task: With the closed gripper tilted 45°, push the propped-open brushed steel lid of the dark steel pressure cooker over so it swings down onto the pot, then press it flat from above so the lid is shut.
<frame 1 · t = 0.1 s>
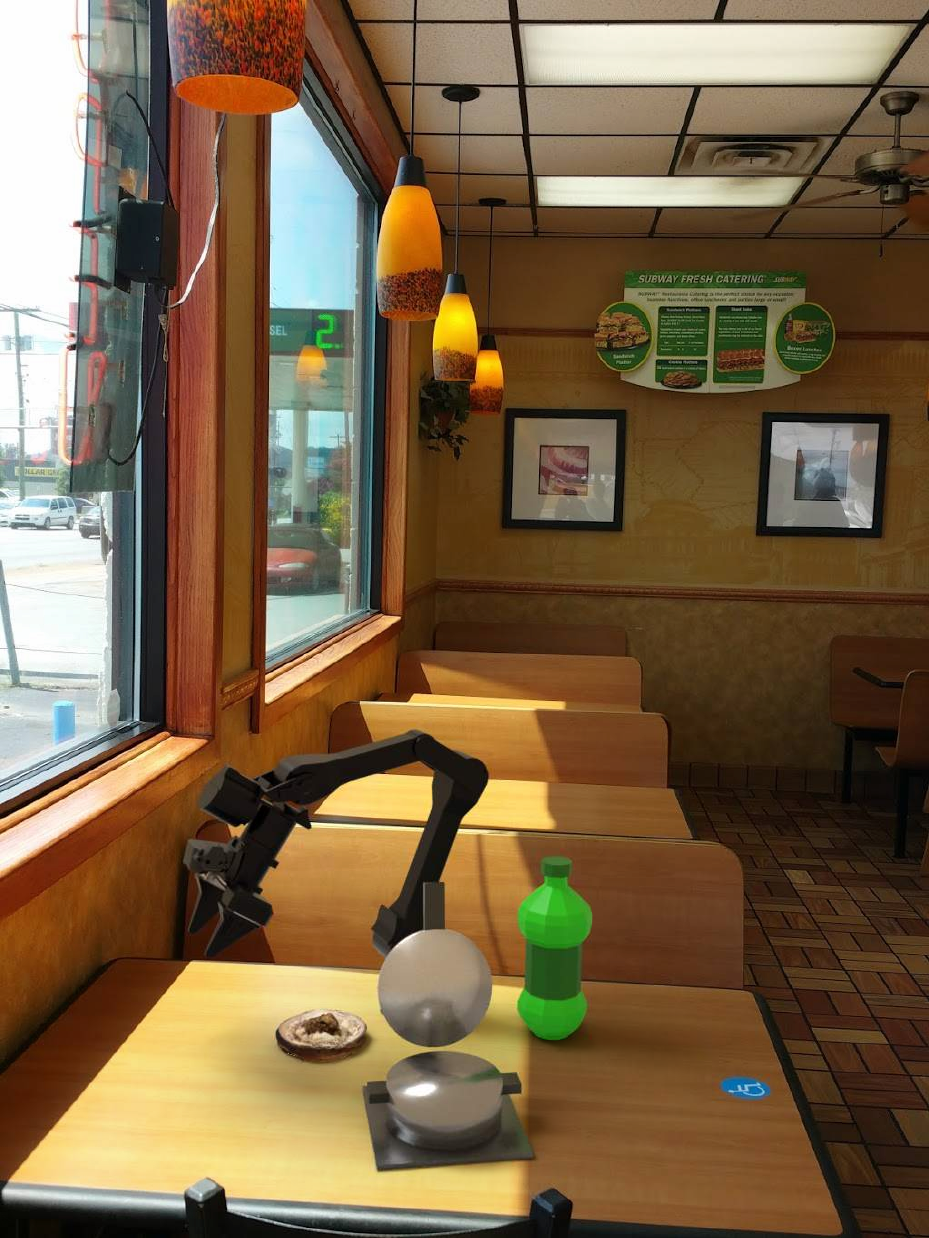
hand: (199, 944, 154), 15 cm above the table, tool tilted 35°, fingers open, 9 cm apart
cooker lid: (434, 963, 147), point 16 cm above the table, hinge at 100.0°
cooker pot: (443, 1122, 139), on the table
sushi roll: (321, 1045, 160), on the table
plastic bottle: (551, 1033, 164), on the table
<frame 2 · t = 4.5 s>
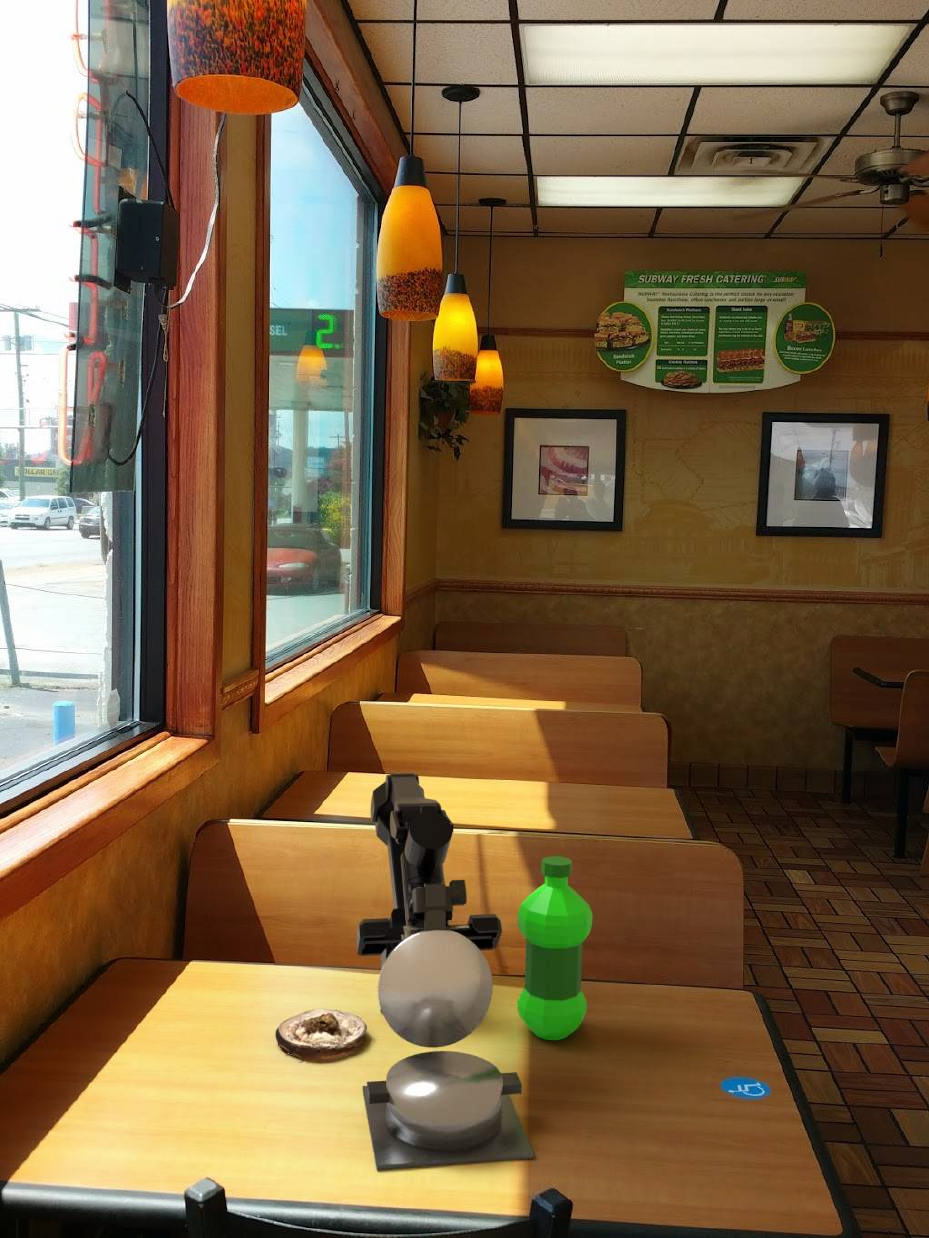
hand: (434, 997, 146), 12 cm above the table, tool tilted 45°, fingers closed, pressing on cooker lid
cooker lid: (434, 963, 147), point 16 cm above the table, hinge at 97.9°, touching gripper
everything else where it was.
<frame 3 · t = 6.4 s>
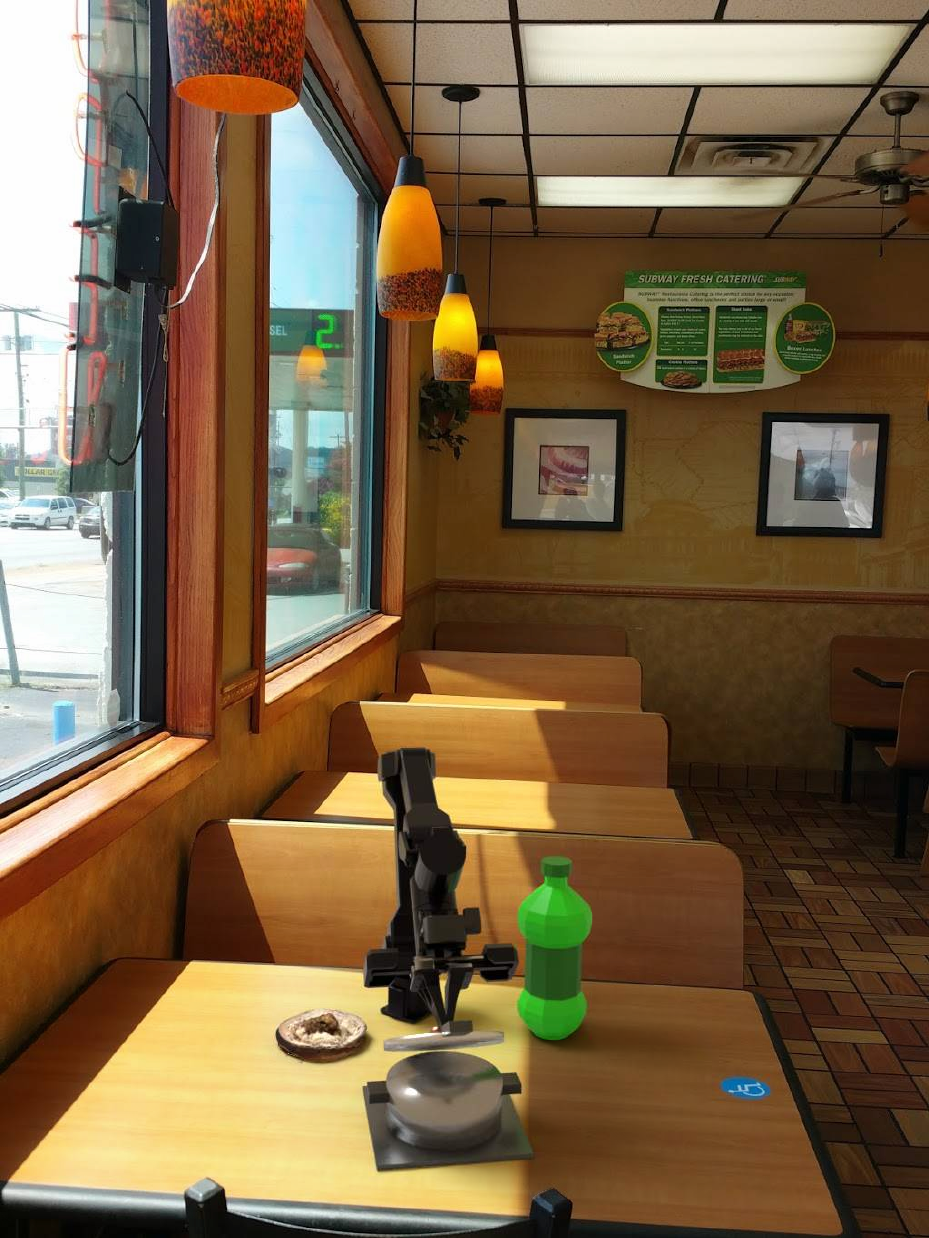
hand: (447, 1034, 137), 12 cm above the table, tool tilted 45°, fingers closed
cooker lid: (447, 1033, 137), point 12 cm above the table, hinge at 29.8°
everything else where it was.
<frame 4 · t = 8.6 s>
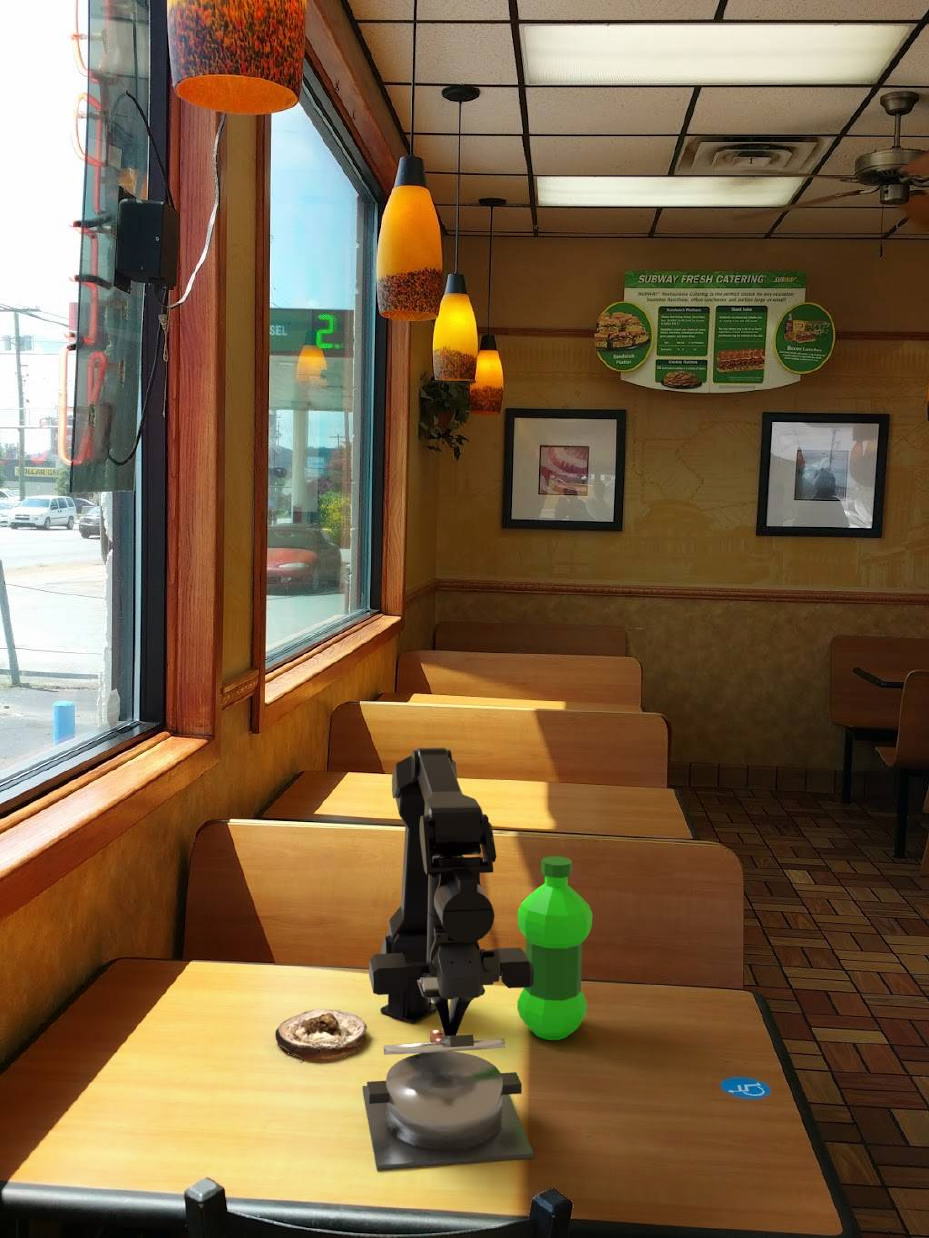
hand: (449, 1040, 135), 12 cm above the table, tool pointing down, fingers closed, pressing on cooker lid
cooker lid: (447, 1040, 136), point 11 cm above the table, hinge at 25.4°, touching gripper
everything else where it was.
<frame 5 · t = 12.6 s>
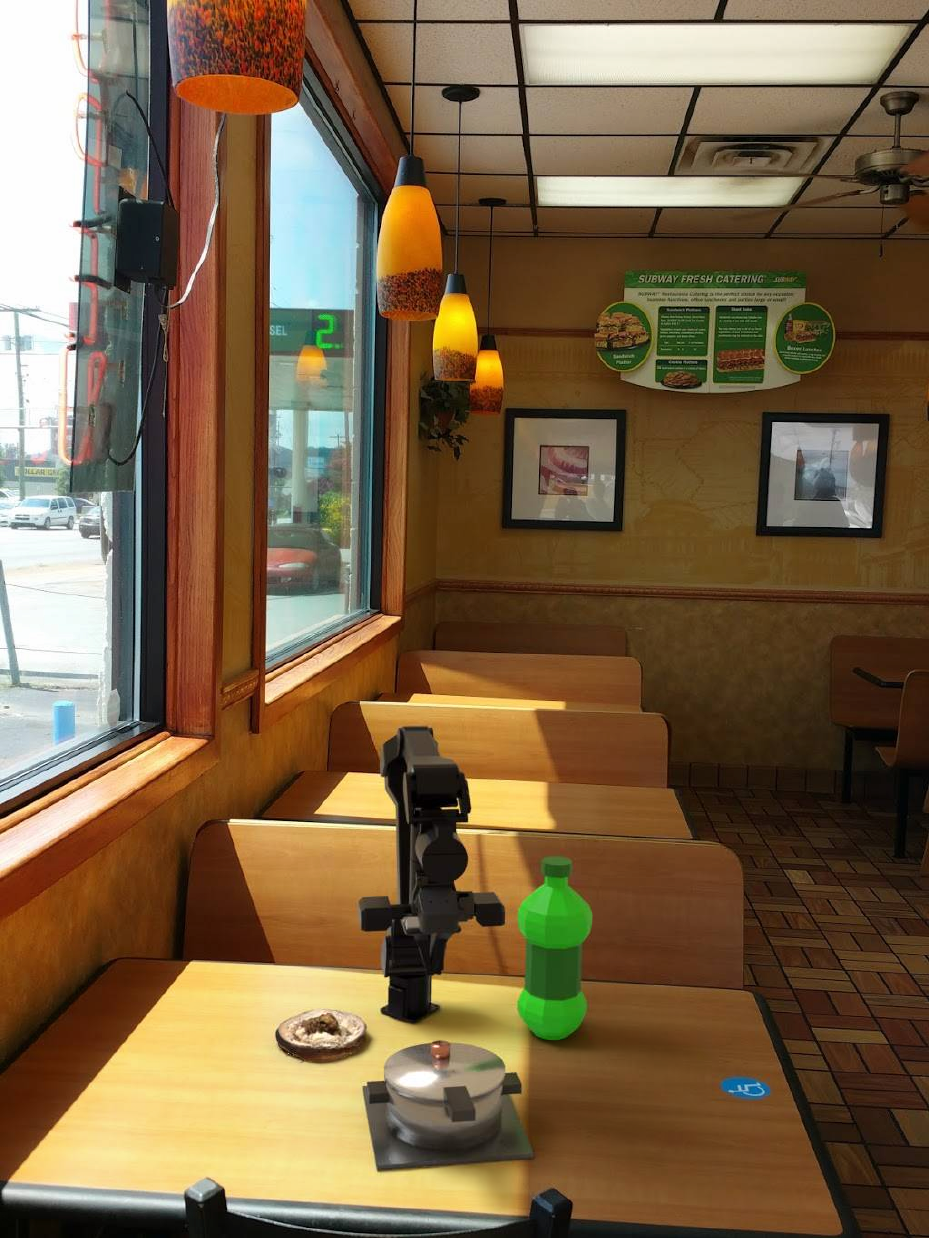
hand: (429, 974, 151), 13 cm above the table, tool pointing down, fingers closed
cooker lid: (448, 1075, 135), point 7 cm above the table, hinge at 3.3°
everything else where it was.
at the end: cooker lid at +3° (first picture: +100°); sushi roll moved 0.7 cm from its start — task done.
